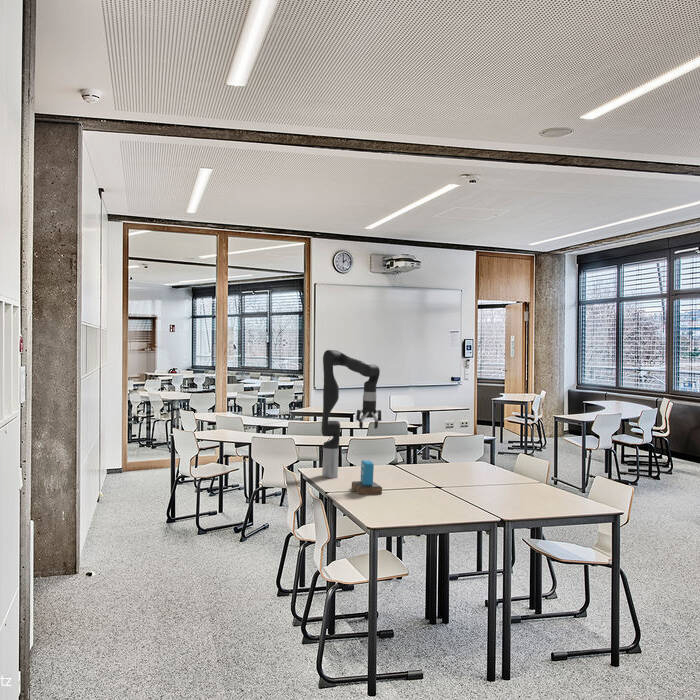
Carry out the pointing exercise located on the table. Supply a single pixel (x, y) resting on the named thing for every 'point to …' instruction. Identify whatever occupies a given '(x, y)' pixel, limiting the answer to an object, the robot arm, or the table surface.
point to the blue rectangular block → (367, 472)
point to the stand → (366, 488)
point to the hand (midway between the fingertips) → (368, 428)
